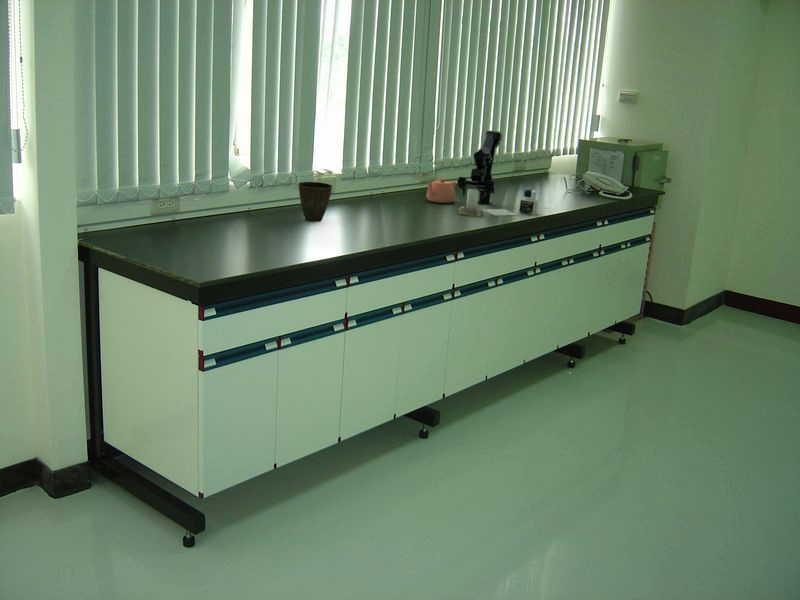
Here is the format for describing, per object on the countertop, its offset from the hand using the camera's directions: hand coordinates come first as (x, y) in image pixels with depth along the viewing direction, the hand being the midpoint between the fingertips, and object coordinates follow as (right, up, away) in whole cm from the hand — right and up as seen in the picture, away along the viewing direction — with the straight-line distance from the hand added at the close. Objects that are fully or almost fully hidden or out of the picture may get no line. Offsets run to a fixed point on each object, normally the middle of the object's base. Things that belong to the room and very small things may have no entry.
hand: (472, 197), depth 423 cm
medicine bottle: (+30, -7, +15) cm, 34 cm away
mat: (+15, -7, +9) cm, 19 cm away
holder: (-1, -8, +1) cm, 8 cm away
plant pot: (-75, -15, -40) cm, 86 cm away
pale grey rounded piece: (-1, -8, +1) cm, 8 cm away
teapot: (-15, +1, +28) cm, 32 cm away
